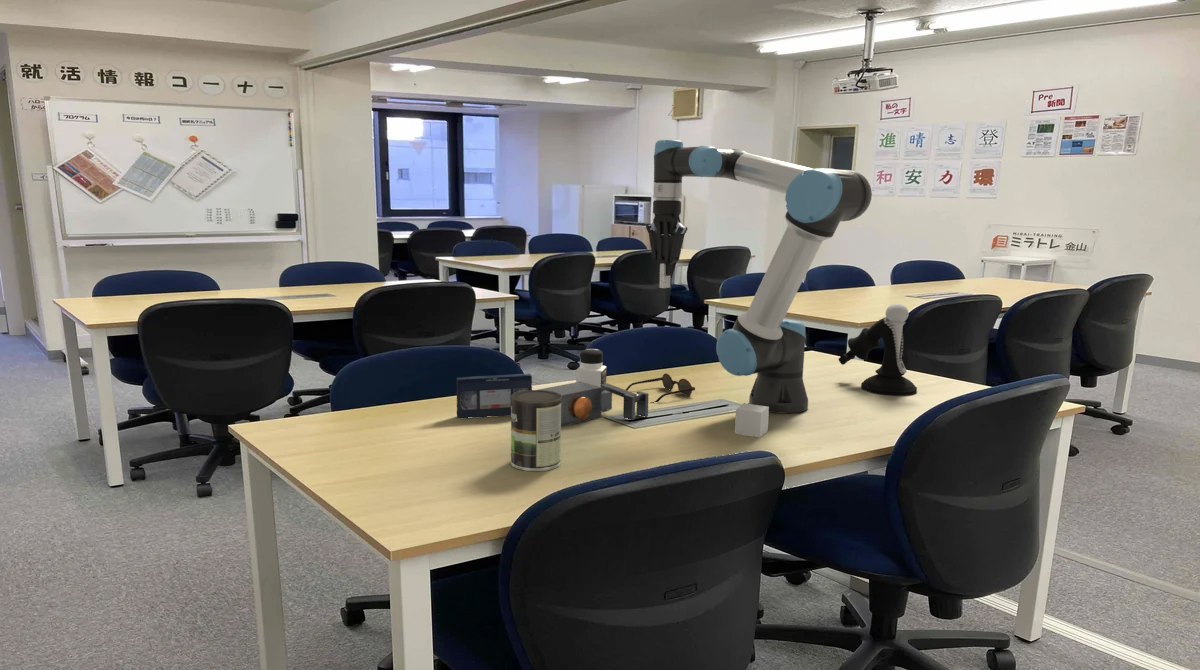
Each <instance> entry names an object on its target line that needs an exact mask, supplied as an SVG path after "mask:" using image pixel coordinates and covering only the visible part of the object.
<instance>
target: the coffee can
mask: <svg viewBox="0 0 1200 670" xmlns="http://www.w3.org/2000/svg"><path fill="white" fill-rule="evenodd" d="M510 400H511V416H510V465H511V467H513V468H515V469H516V470H519V471H525V472H547V471H551V470H554V469H556V468H559V466H560V465H561V464H562V460H561V452H562V451H561V450H562V449H561V447H562V445H561V444H562V442H561V441H562V426H561V401H562V395H560V394H559V393H556V392H552V391H546V390H538V389H532V390H527V391H520V392H517V393H514V394H512V395H511V397H510Z"/></svg>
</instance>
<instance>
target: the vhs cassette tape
mask: <svg viewBox="0 0 1200 670" xmlns="http://www.w3.org/2000/svg"><path fill="white" fill-rule="evenodd" d="M455 379H456V390H455V391H456V416H457V419H458V418H466V419H469V418H468V417H482V418H488V417H487V416H498V417H507V416H506V415H511V400H510V397H511V395H512V394H514V393H517V392H520V391H527V390H533V381H532V380H533V377H532V375H531V373H517V374H499V375H498V374H497V375H477V376H462V377H456V378H455Z"/></svg>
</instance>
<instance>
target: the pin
mask: <svg viewBox="0 0 1200 670" xmlns="http://www.w3.org/2000/svg"><path fill="white" fill-rule="evenodd" d="M591 410H592V403H591V401H590V399H588V398H586V397H582V396H581V397H578V398H576V399H574V400H573V405H572V413H573V415H574V416H575V417H577V418H580V419H585V418H587V417H588V416H589V414H590V413H591Z"/></svg>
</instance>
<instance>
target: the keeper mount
mask: <svg viewBox="0 0 1200 670" xmlns="http://www.w3.org/2000/svg"><path fill="white" fill-rule="evenodd" d="M638 393H642V394H643V397H644V399H643V401H640V402H635V396H632V395H628V394H625V395H624V397H623V411H622V412H623V413H622V414H623V415H622V418H623V417H624V418H628V419H631V420H633V419H635V420H636V416H637V415H641V416H645V417H646V416H648V417H649V393H648V392H643V391H636V394H638ZM611 408H612V409H613V393H611V392H608V391H602V392H601V411H602V410H604V411H608V410H607V409H609V410H612V409H611ZM636 414H637V415H636Z"/></svg>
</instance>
